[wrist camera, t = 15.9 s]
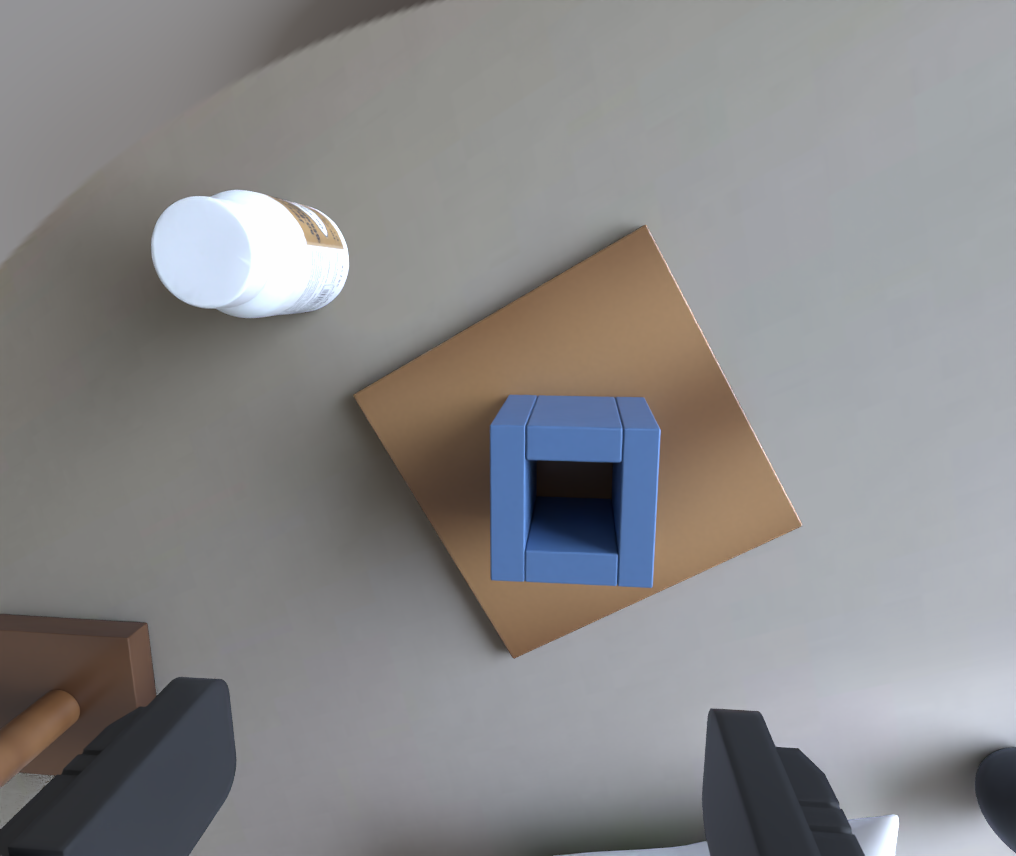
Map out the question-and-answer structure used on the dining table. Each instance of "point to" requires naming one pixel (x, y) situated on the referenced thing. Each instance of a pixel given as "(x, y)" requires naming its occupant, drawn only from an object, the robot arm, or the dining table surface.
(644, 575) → the blue pencil cup
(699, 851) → the pouch
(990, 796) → the black rounded dome
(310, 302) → the pill bottle
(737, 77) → the dining table surface
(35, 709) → the dowel stand
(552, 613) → the wooden board
